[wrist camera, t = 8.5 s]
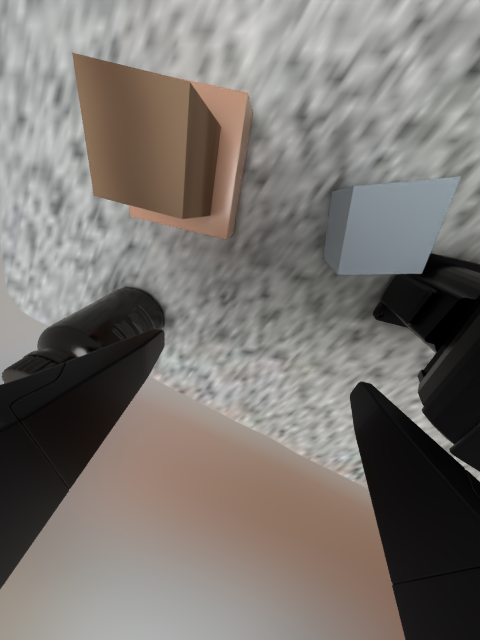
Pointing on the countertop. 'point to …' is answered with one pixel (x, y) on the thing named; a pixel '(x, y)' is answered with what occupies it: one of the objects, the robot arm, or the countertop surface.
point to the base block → (218, 163)
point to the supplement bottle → (90, 331)
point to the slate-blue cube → (386, 226)
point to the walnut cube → (147, 138)
